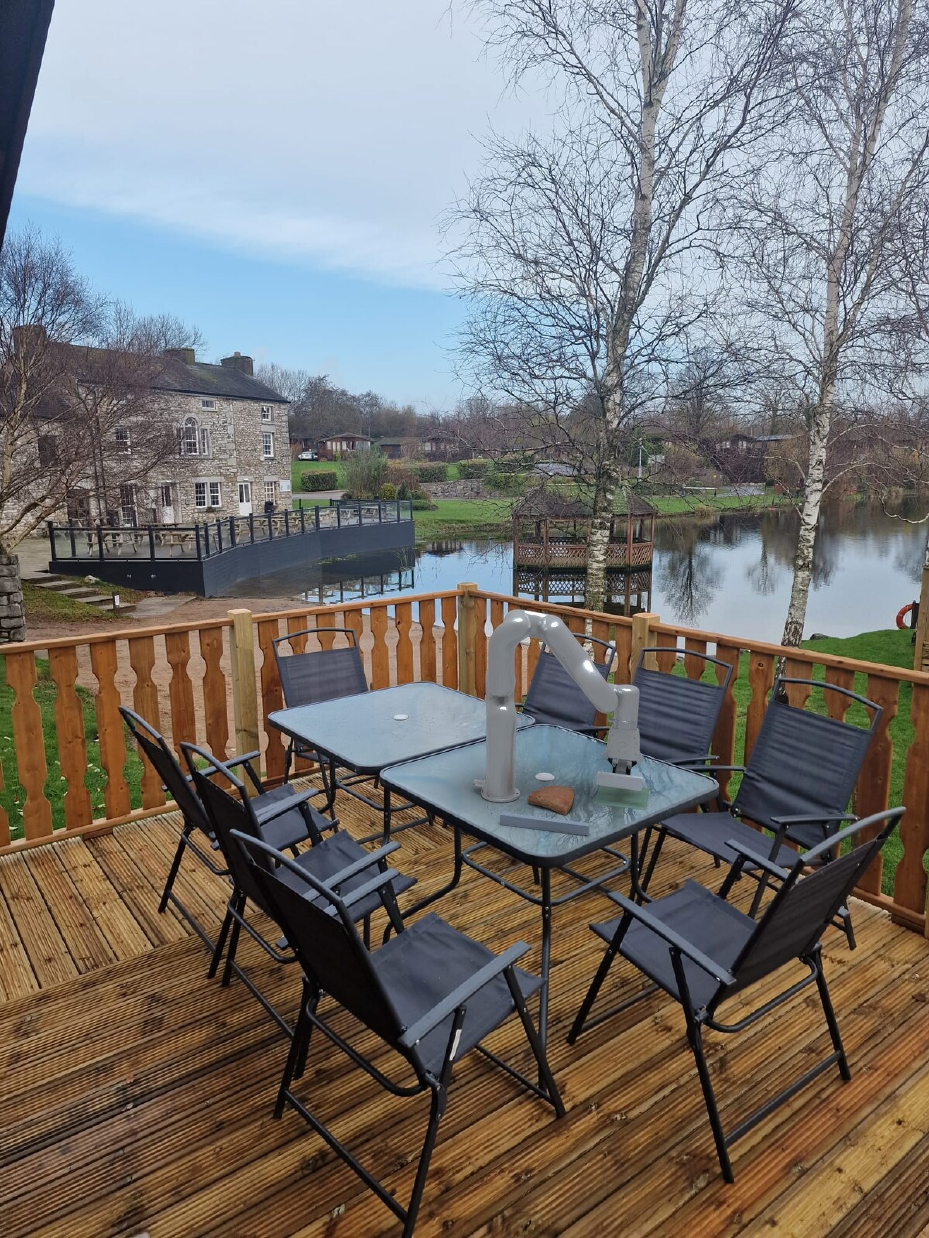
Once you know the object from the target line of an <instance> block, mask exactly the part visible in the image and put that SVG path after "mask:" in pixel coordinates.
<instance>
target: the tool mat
mask: <svg viewBox="0 0 929 1238" xmlns="http://www.w3.org/2000/svg"><path fill="white" fill-rule="evenodd" d="M598 786H599V787H598V790H597V793H596V796H595V800H594V802H593V803H594V805H601V806H607V807H616V808H625V809H633V810H642V811H647V807H648V801H649V796H650V795H649V794H650V788H649V787H643V786H642V791H637V790H630V789H623V788H616V787H609V786H602V785H598Z"/></svg>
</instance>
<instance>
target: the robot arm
mask: <svg viewBox="0 0 929 1238" xmlns="http://www.w3.org/2000/svg"><path fill="white" fill-rule="evenodd" d="M493 630H494V631H493V632H492V633H491V635H490V637H489V640H488V644H487V645H488V646H487V668H486V671H485V716H486V717H485V719H486V720H485V721H486V725H485V726H486V731H485V732H486V733H485V734H486V735H485V738H486V739H485V752H486V753H485V778H484V779H479V778H478V779H477V778H474V779H473V782H472V783H473V786H474V787H475V788H478V789H481V790H480V795H481V797H482V798H483V799H485V800H486V801H489V802H493V803H510V802H513V801H515V800H518V799H519V798H520V796H521V791H520V789H519V788H518V787H516V776H517V775H516V773H517V772H516V770H517V769H516V766H517V765H516V764H517V759H516V757H517V727H518V715H517V709H516V704H515V703H516V702H515V687H516V684H517V683H516V682H517V681H516V674H515V673H516V671H515V669H516V668H515V667H516V666H515V661H516V660H515V659H516V657H515V656H516V653H515V652H516V649H517V647H518V645H519V644H520V643H521V642H523V641H524V640H526V639H527V638H531V639H540V640H542V641H543V643H544V645H546V647H547V648H548V650H550V652H551V653H552V654H553V655H554V657H555V658H556V659H557V661H558V662H559V663H560V665H561V666H562V667H563V669H564V670H565V672H566V673H567V674H568V675H569V676H570V678H571V679H572V680H573V681H574V682H575V683H576V684H577V686H578V687H579V688H580V689H581V691H582V692H583V694H585V696H586V697H587V699H588V700H589V702H591V704H592V705H593V706H594V708H595V709H596V710H597V711H598V712H600V713H602V714H610V713H613V717H612V718H608V723H609V724H611V726H610V727H609V729H608V730H609V731H608V734H607V735H608V736H607V742H606V743H607V744H606V748H605V750H604V751H603V753H602V754H601V758H603V759H605V760H607V762H609V764H610V765H611V767H612V772H611V773H615V772H616V767H617V763H618V760H627V761H628V765H627V768H626V775H631V772H632V768H634V767H635V766H637V765H638V764H641V763H643V762H644V757H643V755H642V753H641V751H640V749H641V747H640V746H641V744H640V743H641V741H640V740H641V737H640V729H639V727H638V716H639V707H640V706H639V703H640V689H639V687H637V686H636V685H632V684H615V683H609V682H607V680H605V679H606V678H604V677H603V675H602V674H601V673H600V671H599V670H598V668H597V667H596V665H595V664H594V662H593V660H592V658H591V657H590V655H589V653H587V651H586V650H585V648H584V647H583V646H582V645H581V643H580V642H579V641H578V639H576V637H575V636H574V634H573V633H572V631H571V630H570V629H569V627H567V625H566V624H565V623H564V621H563V620H562V618H560V617H559V616H557V615H554V614H550V613H549V614H548V613H543V612H536V611H533V610H532V611H530V610H526V609H519V608H517V609H512V610H510V611H508V612H507V613H506V614H505V615H504V618H503V622H502V623H500V624H499V625H498V626H496V628H495V629H493ZM631 776H632V775H631Z"/></svg>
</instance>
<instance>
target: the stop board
mask: <svg viewBox="0 0 929 1238" xmlns="http://www.w3.org/2000/svg"><path fill="white" fill-rule="evenodd" d="M499 824H500V825H503V826H508V827H509V826H510V827H517V828H525V829H532V830H540V831H548V832H555V833H562V834H569V835H570V834H571V835H577V836H578V835H579V836H584V835H588V836H589V835H590V822H581V821H575V820H574V821H573V820H566V819H558V818H553V817H552V818H550V817H544V816H536V815H535V816H534V815H527V814H526V815H525V814H519V813H511V812H503V811H501V813H500V814H499Z"/></svg>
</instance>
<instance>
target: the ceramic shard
mask: <svg viewBox="0 0 929 1238" xmlns="http://www.w3.org/2000/svg"><path fill="white" fill-rule="evenodd" d="M574 798H575V791H574V788H573V787H568V786H564V785H549V786H544V787H543V788H539V789H535V790H534V791H533V792H532V793H530V794H529V795H528V798H527V804H528V805H536V806H539V807H543V808H546V809H549V810H551V811H553V812H556V813H558V814H560V815H562V816H567V815H568V814H569V812H570V811H571V808H572V807H573V805H574V803H573V801H574Z"/></svg>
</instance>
